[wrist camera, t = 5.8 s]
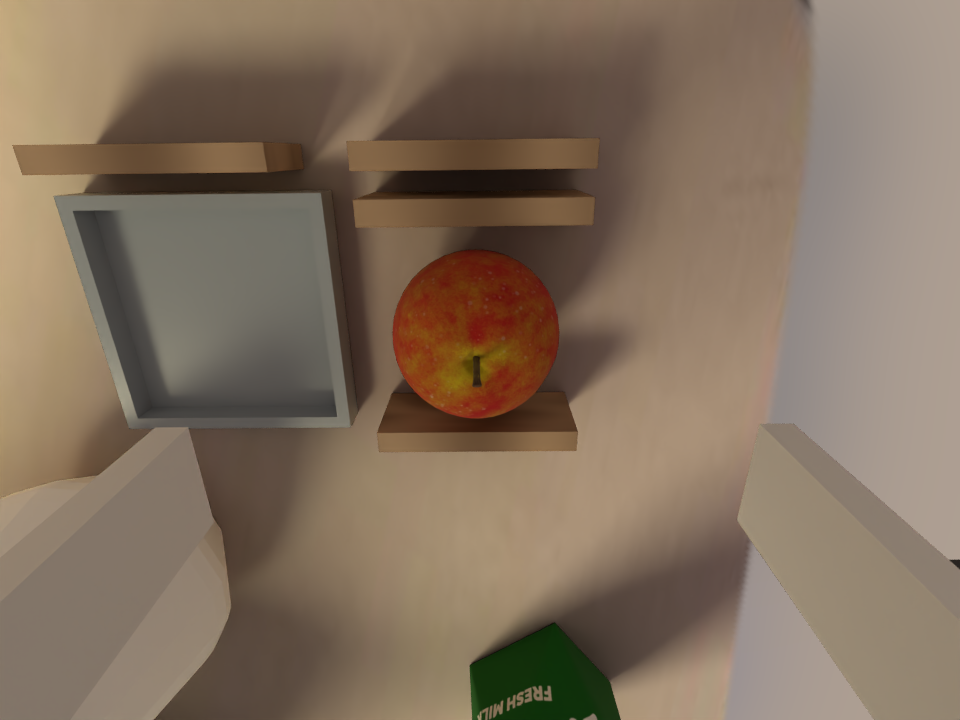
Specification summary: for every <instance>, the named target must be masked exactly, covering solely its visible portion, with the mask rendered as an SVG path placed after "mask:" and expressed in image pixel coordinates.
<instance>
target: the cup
mask: <svg viewBox="0 0 960 720" xmlns="http://www.w3.org/2000/svg"><path fill="white" fill-rule="evenodd" d="M96 477H97V476H90V477H82V478H74V479H66V480H58V481H53V482H50V483H47V484H43V485H40V486H36V487H33V488H29V489H26V490H22V491H19V492H15V493H12V494H10V495H7V496H5V497H3V498H1V499H0V557H1V556H3V555H4V554H5V553H6V552H7V551H9V550H10V549H11V548H12V547H13V546H15V545H16V544H17V543H18V542H19V541H20V540H22V539H23V538H24V537H25V536H26V535H28V534H29V533H30V532H31V531H32V530H34V529H35V528H36V527H37V526H38V525H40V524H41V523H42V522H43V521H44V520H46V519H47V518H48V517H49V516H50V515H51V514H53V513H54V512H55V511H56V510H57V509H59V508H60V507H61V506H62V505H63V504H65V503H66V502H67V501H68V500H69V499H71V498H72V497H73V496H74V495H75V494H77V493H78V492H79V491H80V490H81V489H83V488H84V487H85V486H86V485H87V484H88V483H90V482H91V481H92V480H93V479H94V478H96ZM213 520H214V518H213ZM230 609H231V599H230V591H229V583H228V575H227V567H226V558H225V551H224V543H223V536H222V530H221V529H220V527H219V526H218V524H217V523H216V521H215V520H214V523H213V525H212V526H211V527H210V529H209V530H208V531H207V533H206V534H205V536H204V537H203V538H202V540H201V541H200V542H199V544H198V545H197V547H196V548H195V549H194V551H193V552H192V553H191V555H190V556H189V558H188V559H187V560H186V562H185V563H184V564H183V566H182V567H181V569H180V570H179V571H178V573H177V574H176V575H175V577H174V578H173V580H172V581H171V582H170V584H169V585H168V586H167V588H166V589H165V591H164V592H163V593H162V595H161V596H160V597H159V599H158V600H157V602H156V603H155V604H154V606H153V607H152V608H151V610H150V611H149V612H148V614H147V615H146V617H145V618H144V619H143V621H142V622H141V623H140V625H139V626H138V628H137V629H136V630H135V632H134V633H133V634H132V636H131V637H130V639H129V640H128V641H127V643H126V644H125V645H124V647H123V648H122V650H121V651H120V652H119V654H118V655H117V656H116V658H115V659H114V661H113V662H112V663H111V665H110V666H109V667H108V669H107V670H106V672H105V673H104V674H103V676H102V677H101V678H100V680H99V681H98V683H97V684H96V685H95V687H94V688H93V689H92V691H91V692H90V693H89V695H88V696H87V698H86V699H85V700H84V702H83V703H82V704H81V706H80V707H79V709H78V710H77V711H76V713H75V714H74V715H73V717H72V718H71V720H154V719H155V718H156V716H157V715H158V714H159V713H160V712H161V711H162V710H163V709H164V707H165V706H166V705H167V704H168V703H169V702H170V701H171V700H172V698H173V697H174V696H175V695H176V694H177V693H178V692H179V691H180V689H181V688H182V687H183V686H184V685H185V684H186V683H187V682H188V680H189V679H190V678H191V677H192V676H193V675H194V674H195V672H196V671H197V670H198V669H199V668H200V667H201V666H202V665H203V663H204V662H205V661H206V660H207V658H208V657H209V656H210V654H211V653H212V652H213V650H214V649H215V646H216V644H217V642H218V640H219V638H220V635H221V633H222V631H223V629H224V627H225V624H226V622H227V620H228V617H229V613H230Z"/></svg>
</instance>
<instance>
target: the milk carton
mask: <svg viewBox="0 0 960 720" xmlns="http://www.w3.org/2000/svg"><path fill="white" fill-rule="evenodd" d="M470 683H471V703H472V720H621V719H620V715H619V712H618V709H617V705H616V702H615V698H614V695H613V691H612V688H611V684H610V682H609V680H608V679H607V678H606V677H605V676H604V675H603V674H602V673H601V672H600V671H599V670H598V669H597V668H596V667H595V665H594V664H593V663H592V662H591V661H590V660H589V659H588V658H587V657H586V656H585V655H584V654H583V653H582V651H581V650H580V649H579V648H578V647H577V646H576V645H575V644H574V643H573V642H572V641H571V640H570V639H569V638H568V636H567V635H566V634H565V633H564V632H563V631H562V630H561V629H560V628H559V627H558V626H557V625H556V624H555V623H553V624H552V625H550V626H548V627H546V628H544V629H542V630H540V631H537V632H535V633H533V634H531V635H529V636H527V637H525V638H523V639H521V640H519V641H517V642H515V643H513V644H511V645H509V646H507V647H505V648H503V649H501V650H499V651H497V652H495V653H493V654H491V655H489V656H487V657H485V658H483V659H481V660H479V661H477V662H475V663H473V664H471V665H470Z"/></svg>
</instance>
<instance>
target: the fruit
mask: <svg viewBox="0 0 960 720" xmlns="http://www.w3.org/2000/svg"><path fill="white" fill-rule="evenodd" d="M558 344H559V325H558V316H557V313H556V309H555V306H554V303H553V301H552V299H551V296H550V294H549V292H548V291H547V289H546V288H545V286H544V285H543V283H542V282H541V280H540V279H539V278H538V277H537V276H536V275H535V274H534V273H533V272H532V271H531V270H530V269H529V268H527V267H526V266H525V265H523V264H522V263H521V262H519V261H517V260H515V259H513V258H511V257H509V256H507V255H504V254H501V253H498V252H494V251H488V250H464V251H458V252H454V253H451V254H448V255H445V256H443V257H441V258H439V259H437V260H435V261H433V262H431V263H430V264H429V265H427V266H426V267H425V268H423V269H422V270H421V271H420V272H419V273H418V274H417V275H416V276H415V277H414V278H413V279H412V280H411V281H410V283H409V284H408V286H407V287H406V289H405V290H404V292H403V294H402V296H401V298H400V301H399V303H398V305H397V308H396V312H395V316H394V322H393V347H394V351H395V356H396V360H397V363H398V365H399V368H400V370H401V372H402V374H403V376H404V378H405V379H406V381H407V382H408V384H409V385H410V387H411V388H412V389H413V390H414V391H415V392H416V393H417V394H418V395H419V396H420V397H421V398H423V399H424V400H425V401H426V402H427V403H429V404H431V405H432V406H434V407H435V408H437V409H439V410H442V411H444V412H446V413H449V414H452V415H455V416H459V417H465V418H488V417H494V416H497V415H500V414H504V413H506V412H508V411H510V410H513V409H515V408H516V407H518V406H519V405H521V404H523V403H524V402H526V401H527V400H528V399H529V398H530V397H531V396H533V395H534V394H535V393H536V391H537V390H538V388H539V387H540V386H541V384H542V383H543V382H544V380H545V378H546V376H547V375H548V373H549V371H550V369H551V367H552V365H553V363H554V361H555V358H556V354H557V350H558Z"/></svg>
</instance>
